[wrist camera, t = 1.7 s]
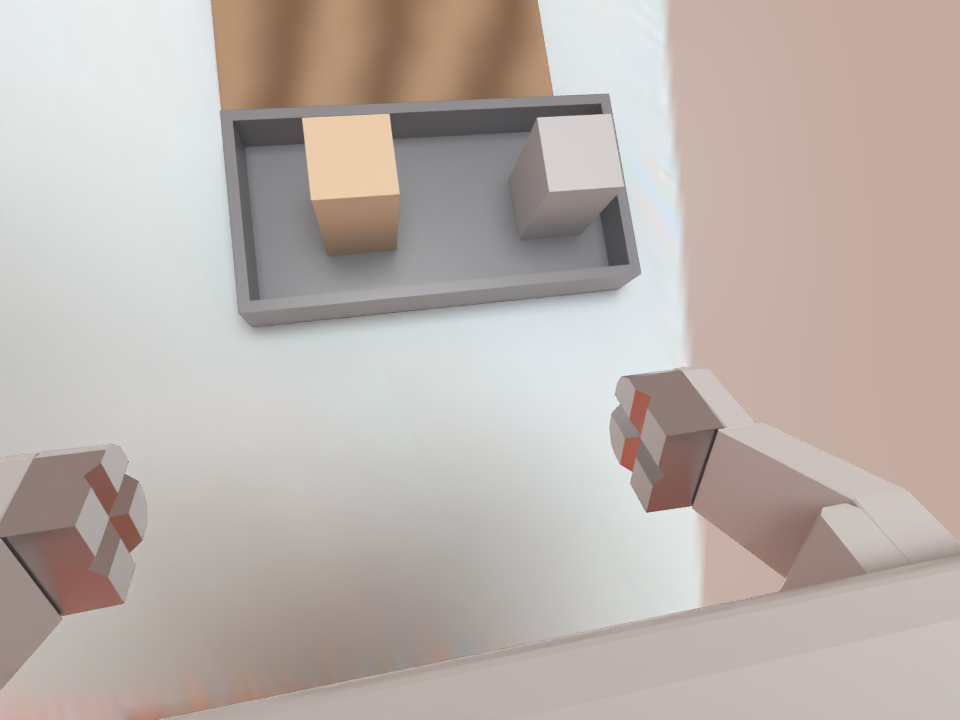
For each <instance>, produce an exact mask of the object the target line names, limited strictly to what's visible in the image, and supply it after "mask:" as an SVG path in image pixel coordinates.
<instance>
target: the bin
mask: <svg viewBox="0 0 960 720" xmlns="http://www.w3.org/2000/svg"><path fill="white" fill-rule="evenodd" d="M372 114H389V115H390V123H391V130H392V138H393V146H394V153H395V161H396V169H397V177H398V184H399V192H400V199H399V217H398V235H397V250H393V251H381V252H369V253H358V254H346V255H334V256H328V255H327V252H326V249H325V245H324V242H323V238H322V235H321V232H320V228H319V225H318V222H317V218H316V215H315V212H314V208H313V205H312V202H311V195H310V186H309V176H308V167H307V158H306V149H305V140H304V131H303V122H302V118H308V117H329V116H351V115H372ZM598 114H611V116H612V122H613V127H614V133H615V138H616V144H617V150H618V155H619V161H620V166H621V172H622V178H623V183H624V187H623V188H622V189H621V191H620V192H619V193H618V194H617V195H616V196H615V197H614V198H613V199H612V200H611V202H610V203H609V204H608V205H607V206H606V207H605V208H604V209H603V210H602V211H601V213H600V214H599V215H598V216H597V217H596V218H595V219H594V220H593V221H592V222H591V224H590V225H589V226H588V227H587V228H586V229H585V230H584V231H583V232H582V234H580V235H568V236H556V237H545V238H533V239H521V240H519V237H518V231H517V224H516V218H515V211H514V205H513V198H512V192H511V185H510V179H509V178H510V176H511V174H512V172H513V169H514V167H515V165H516V163H517V161H518V158H519V156H520V154H521V152H522V150H523V147H524V145H525V143H526V141H527V139H528V136H529V134H530V132H531V130H532V128H533V126H534V123H535V121H536V119H537V117H558V116H578V115H598ZM220 117H221V127H222V138H223V149H224V160H225V171H226V182H227V193H228V204H229V214H230V225H231V236H232V247H233V258H234V269H235V280H236V291H237V301H238V312H239V314H240V315H241V316H242V317H243V318H244V319H245V320H246V321H247V322H248V323H249V324H251V325H252V326H253V327H258V326H268V325H277V324H287V323H297V322H307V321H316V320H326V319H336V318H345V317H355V316H365V315H374V314H384V313H394V312H403V311H413V310H423V309H432V308H442V307H452V306H461V305H471V304H481V303H490V302H500V301H510V300H519V299H529V298H539V297H548V296H558V295H568V294H578V293H587V292H597V291H607V290H616V289H619V288H621V287H622V286H624V285H625V284H627V283H628V282H630V281H631V280H632V279H634V278H635V277H637V276H638V275H640V274H641V270H640V264H639V259H638V253H637V247H636V242H635V236H634V231H633V225H632V219H631V214H630V208H629V203H628V197H627V192H626V186H625V180H624V175H623V169H622V164H621V158H620V153H619V147H618V141H617V136H616V130H615V125H614V119H613V113H612V108H611V102H610V97H609V94H589V95H566V96H544V97H521V98H498V99H475V100H452V101H429V102H407V103H384V104H361V105H338V106H315V107H292V108H269V109H247V110H224V111H220Z"/></svg>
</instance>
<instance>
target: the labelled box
mask: <svg viewBox="0 0 960 720" xmlns="http://www.w3.org/2000/svg"><path fill="white" fill-rule="evenodd" d="M302 122H303V131H304V140H305V149H306V158H307V167H308V176H309V186H310V195H311V202H312V205H313V208H314V212H315V215H316V218H317V222H318V225H319V228H320V232H321V235H322V238H323V242H324V245H325V249H326V252H327V255H328V256H334V255H346V254H358V253H369V252H381V251H393V250H397V235H398V217H399V199H400V192H399V184H398V177H397V169H396V161H395V153H394V146H393V138H392V130H391V123H390V115H389V114H372V115H351V116H329V117H308V118H302Z"/></svg>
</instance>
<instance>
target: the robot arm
mask: <svg viewBox="0 0 960 720" xmlns="http://www.w3.org/2000/svg"><path fill="white" fill-rule="evenodd" d="M615 396H616V397H617V399H618V401H619V402H620V405H619V406H618V407H617V408H616V409H615V410H614V411H613V412H612V414H611V420H610V427H609V429H610V438H611V444H612V447H613V450H614V453H615V455H616V457H617V459H618V461H619V463H620V465H622V466H624V467H625V468H627V469H628V470H630V471H632V472H633V473H632V477H631V482H630V484H631V486H632V488H633V489H634V491H635V493H636V495H637V497H638V499H639V500H640V502H641V504H642V506H643V508H644V510H645V511H646V513H648V512H654V511H661V510H668V509H675V508H682V507H689V506H693V507H692V509H694V510H695V511H696V512H698V513H699V514H700V515H702V516H703V517H704V518H706V519H707V520H708V521H710V522H711V523H712V524H714V525H715V526H716V527H718V528H719V529H720V530H722V531H723V532H724V533H726V534H727V535H728V536H730V537H731V538H732V539H734V540H735V541H737V542H738V543H739V544H740V545H742V546H743V547H744V548H746V549H747V550H748V551H750V552H751V553H752V554H754V555H755V556H757V557H758V558H759V559H761V560H762V561H763V562H765V563H766V564H767V565H769V566H770V567H771V568H773V569H774V570H775V571H777V572H778V573H779V574H781V575H782V576H783V577H785V580H784V582H783V583H782V585H781V587H780V589H779V591H778V592H775V593H771V594H766V595H761V596H756V597H751V598H746V599H742V600H737V601H732V602H727V603H722V604H718V605H712V606H707V607H702V608H697V609H693V610H688V611H683V612H678V613H673V614H668V615H663V616H659V617H654V618H649V619H644V620H639V621H634V622H630V623H625V624H620V625H615V626H610V627H605V628H600V629H596V630H591V631H586V632H581V633H576V634H571V635H567V636H562V637H557V638H552V639H547V640H542V641H537V642H533V643H528V644H523V645H518V646H513V647H508V648H504V649H499V650H494V651H489V652H484V653H479V654H474V655H470V656H465V657H460V658H455V659H450V660H445V661H441V662H436V663H431V664H426V665H421V666H416V667H411V668H406V669H402V670H397V671H392V672H387V673H382V674H377V675H372V676H368V677H363V678H358V679H353V680H348V681H343V682H338V683H333V684H329V685H324V686H319V687H314V688H309V689H304V690H299V691H295V692H290V693H285V694H280V695H275V696H270V697H265V698H261V699H256V700H251V701H246V702H241V703H236V704H231V705H226V706H222V707H217V708H212V709H207V710H202V711H197V712H192V713H188V714H183V715H178V716H173V717H168V718H163V719H158V720H960V543H959V542H958V541H957V540H956V539H955V538H954V537H953V536H952V535H951V534H950V533H949V532H948V531H947V530H946V529H945V528H944V527H943V526H942V525H941V524H940V523H939V522H938V521H937V520H936V519H935V518H934V517H933V516H932V515H931V514H930V513H929V512H928V511H927V510H926V509H925V508H924V507H923V506H922V505H921V504H920V503H919V502H918V501H917V500H916V499H915V498H914V497H913V496H912V495H911V494H910V493H909V492H908V491H907V490H905V489H903V488H900V487H898V486H896V485H894V484H892V483H890V482H888V481H886V480H884V479H881V478H879V477H877V476H875V475H873V474H871V473H869V472H867V471H865V470H862V469H860V468H858V467H856V466H854V465H851V464H850V463H848V462H845V461H843V460H841V459H839V458H837V457H835V456H833V455H831V454H829V453H826V452H824V451H822V450H820V449H818V448H816V447H814V446H811V445H809V444H807V443H805V442H803V441H801V440H799V439H797V438H795V437H792V436H790V435H788V434H786V433H784V432H782V431H780V430H777V429H775V428H773V427H771V426H769V425H767V424H765V423H758V424H755V423H754V422H753V421H752V419H751V418H750V417H749V416H748V415H747V413H746V412H745V411H744V410H743V409H742V408H741V406H740V405H739V404H738V403H737V402H736V401H735V399H734V398H733V397H732V396H731V395H730V393H729V392H728V391H727V390H726V389H725V388H724V387H723V385H722V384H721V383H720V382H719V381H718V379H717V378H716V377H715V376H714V375H713V373H712V372H711V371H710V370H709V369H708V368H707V367H705V366H703V365H696V366H689V367H682V368H676V369H674V370H665V371H658V372H651V373H644V374H637V375H629V376H622V377H621V378H620V379H619V381H618V383H617V386H616V391H615ZM128 462H129V461H128V459H127V458H126V456H125V454H124V452H123V450H122V449H121V447H120V446H117V445H114V444H110V445H101V446H92V447H83V448H74V449H65V450H56V451H47V452H42V453H35V454H26V455H17V456H8V457H4V458H3V459H1V460H0V690H1V689H2V688H3V687H4V686H5V685H6V683H7V682H8V681H9V680H10V679H11V678H12V677H13V675H14V674H15V673H16V672H17V671H18V670H19V668H20V667H21V666H22V665H23V664H24V663H25V662H26V660H27V659H28V658H29V657H30V656H31V655H32V653H33V652H34V651H35V650H36V649H37V648H38V647H39V645H40V644H41V643H42V642H43V641H44V640H45V639H46V637H47V636H48V635H49V634H50V633H51V632H52V630H53V629H54V628H55V627H56V626H57V625H58V624H59V622H60V621H61V620H62V617H61V616H64V615H69V614H74V613H79V612H84V611H89V610H94V609H99V608H104V607H109V606H114V605H119V604H124V603H125V600H126V596H127V593H128V589H129V586H130V582H131V579H132V576H133V572H134V569H135V565H136V564H135V563H134V561H133V559H132V557H131V555H130V554H129V553H130V552H131V551H132V550H133V549H134V548H135V547H136V546H137V545H138V544H139V543H140V542H141V541H142V540H143V537H144V533H145V529H146V525H147V504H146V499H145V495H144V492H143V490H142V487H141V485H140V483H139V481H137V480H135V479H133V478H131V477H130V476H128V475H126V474H125V471H126V468H127V465H128Z"/></svg>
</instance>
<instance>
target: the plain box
mask: <svg viewBox="0 0 960 720" xmlns="http://www.w3.org/2000/svg"><path fill="white" fill-rule="evenodd" d="M509 179H510V185H511V192H512V198H513V205H514V211H515V218H516V224H517V231H518V237H519V240H521V239H533V238H545V237H556V236H568V235H580V234H582V232H583V231H584V230H585V229H586V228H587V227H588V226H589V225H590V224H591V222H592V221H593V220H594V219H595V218H596V217H597V216H598V215H599V214H600V213H601V211H602V210H603V209H604V208H605V207H606V206H607V205H608V204H609V203H610V202H611V200H612V199H613V198H614V197H615V196H616V195H617V194H618V193H619V192H620V191H621V189H622V188H623V187H624V183H623V178H622V172H621V166H620V161H619V155H618V150H617V144H616V138H615V133H614V127H613V122H612V116H611V114H598V115H578V116H558V117H537V119H536V121H535V123H534V126H533V128H532V130H531V132H530V134H529V136H528V139H527V141H526V143H525V145H524V147H523V150H522V152H521V154H520V156H519V158H518V161H517V163H516V165H515V167H514V169H513V172H512V174H511V176H510V178H509Z"/></svg>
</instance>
